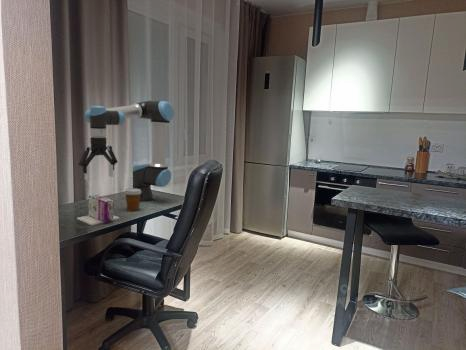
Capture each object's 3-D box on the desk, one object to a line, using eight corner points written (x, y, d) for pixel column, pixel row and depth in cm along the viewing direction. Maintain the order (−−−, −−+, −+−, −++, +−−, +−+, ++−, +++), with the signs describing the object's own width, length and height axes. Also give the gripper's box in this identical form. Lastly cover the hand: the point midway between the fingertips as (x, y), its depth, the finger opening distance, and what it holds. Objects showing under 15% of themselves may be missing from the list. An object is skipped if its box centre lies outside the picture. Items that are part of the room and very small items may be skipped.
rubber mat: (104, 213, 186) (104, 211, 186) (119, 218, 178) (119, 217, 178) (76, 219, 174) (76, 217, 173) (91, 225, 165) (91, 223, 165)
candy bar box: (114, 200, 170) (96, 194, 180) (105, 201, 166) (87, 195, 176) (113, 221, 172) (96, 214, 181) (105, 223, 168) (87, 215, 177)
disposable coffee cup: (123, 211, 191) (123, 191, 189) (125, 207, 200) (125, 188, 198) (140, 211, 193) (140, 191, 191) (141, 207, 202) (142, 188, 200)
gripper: (78, 138, 156) (79, 182, 160) (124, 137, 176) (124, 176, 179) (70, 136, 160) (71, 179, 164) (115, 135, 180) (116, 174, 184)
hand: (99, 178), depth 172 cm, fingers open, 13 cm apart
